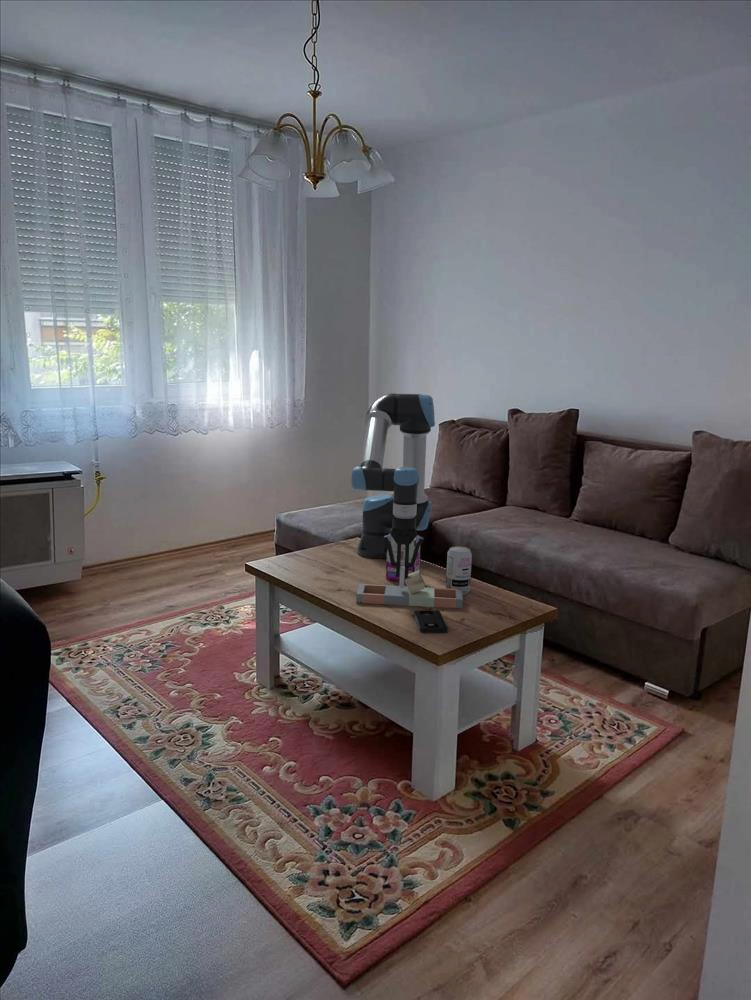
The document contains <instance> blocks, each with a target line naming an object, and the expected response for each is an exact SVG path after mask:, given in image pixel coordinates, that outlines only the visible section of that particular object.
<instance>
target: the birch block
mask: <svg viewBox="0 0 751 1000" xmlns="http://www.w3.org/2000/svg"><path fill="white" fill-rule="evenodd" d="M404 584H405V585H406V586H407V587H408V590H409V592H410V594H412V593H415V592H418V591H420V590H423V589H425V587H426V583H425V581H424V578H423V576H422V573H421V571H416V572H414V573H411V574H408V577H407V578H405V583H404Z"/></svg>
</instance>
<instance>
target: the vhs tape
mask: <svg viewBox="0 0 751 1000" xmlns="http://www.w3.org/2000/svg"><path fill="white" fill-rule="evenodd" d="M413 616H414V619H415V622H416V624H417V627H418V631H419V634H420V633H421V634H448V631H449V630H448V626H447V624H446V622H445V619H444V617H443V615H442V613H441V611H440V610H439V609H436V610H431V609H430V610H423V609H422V610H418V609H417V610H413Z"/></svg>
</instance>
